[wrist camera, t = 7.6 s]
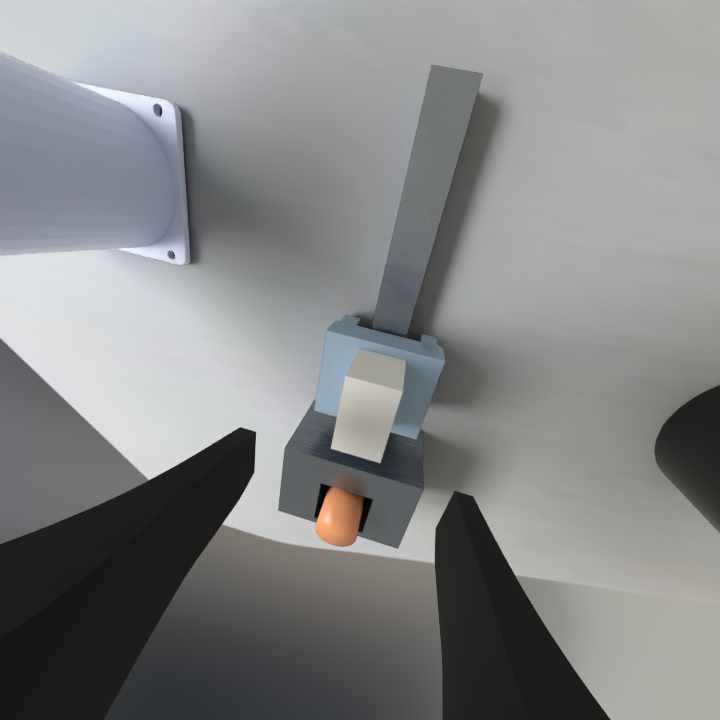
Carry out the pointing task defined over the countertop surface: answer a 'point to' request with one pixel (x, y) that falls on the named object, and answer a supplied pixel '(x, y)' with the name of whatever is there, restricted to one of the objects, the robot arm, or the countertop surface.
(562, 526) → the countertop surface
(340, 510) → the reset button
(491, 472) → the countertop surface
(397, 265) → the rail
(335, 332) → the carriage
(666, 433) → the water bottle
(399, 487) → the cabinet
